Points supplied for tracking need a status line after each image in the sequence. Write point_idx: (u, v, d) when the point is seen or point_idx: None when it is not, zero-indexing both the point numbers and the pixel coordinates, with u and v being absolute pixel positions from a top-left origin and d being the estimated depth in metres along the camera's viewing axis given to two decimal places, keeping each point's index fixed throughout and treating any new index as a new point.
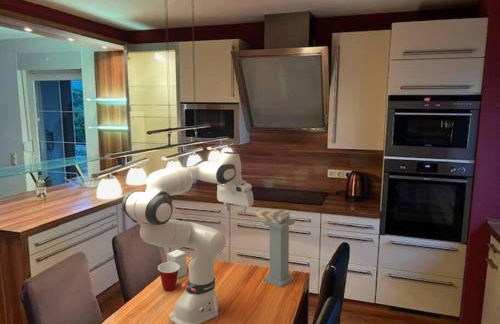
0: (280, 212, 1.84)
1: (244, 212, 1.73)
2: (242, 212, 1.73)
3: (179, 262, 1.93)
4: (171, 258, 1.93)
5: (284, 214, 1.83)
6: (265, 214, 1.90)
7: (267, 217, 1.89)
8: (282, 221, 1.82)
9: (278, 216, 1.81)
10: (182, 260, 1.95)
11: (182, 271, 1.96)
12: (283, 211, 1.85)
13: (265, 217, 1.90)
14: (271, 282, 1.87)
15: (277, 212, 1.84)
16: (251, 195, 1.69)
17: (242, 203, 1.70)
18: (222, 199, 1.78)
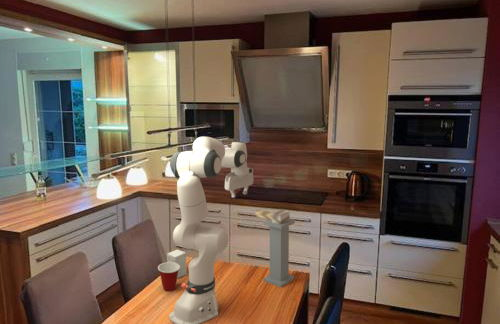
0: (280, 212, 1.84)
1: None
2: (246, 192, 2.05)
3: (179, 262, 1.93)
4: (171, 258, 1.93)
5: (284, 214, 1.83)
6: (265, 214, 1.90)
7: (267, 217, 1.89)
8: (282, 221, 1.82)
9: (278, 216, 1.81)
10: (182, 260, 1.95)
11: (182, 271, 1.96)
12: (283, 211, 1.85)
13: (265, 217, 1.90)
14: (271, 282, 1.87)
15: (277, 212, 1.84)
16: None
17: (248, 183, 2.04)
18: (233, 187, 1.95)
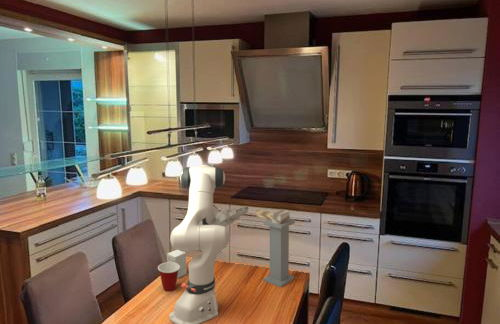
0: (280, 212, 1.84)
1: None
2: (246, 206, 2.06)
3: (179, 262, 1.93)
4: (171, 258, 1.93)
5: (284, 214, 1.83)
6: (265, 214, 1.90)
7: (267, 217, 1.89)
8: (282, 221, 1.82)
9: (278, 216, 1.81)
10: (182, 260, 1.95)
11: (182, 271, 1.96)
12: (283, 211, 1.85)
13: (265, 217, 1.90)
14: (271, 282, 1.87)
15: (277, 212, 1.84)
16: None
17: (241, 207, 2.11)
18: (226, 212, 2.01)
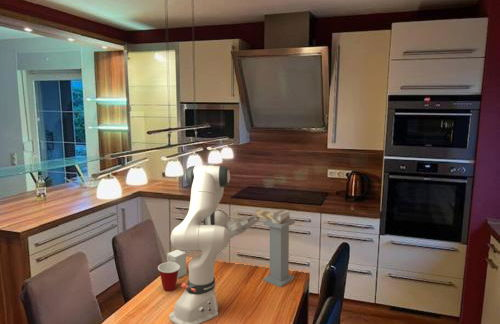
0: (280, 212, 1.84)
1: None
2: None
3: (179, 262, 1.93)
4: (171, 258, 1.93)
5: (284, 214, 1.83)
6: (265, 214, 1.90)
7: (267, 217, 1.89)
8: (282, 221, 1.82)
9: (278, 216, 1.81)
10: (182, 260, 1.95)
11: (182, 271, 1.96)
12: (283, 211, 1.85)
13: (265, 217, 1.90)
14: (271, 282, 1.87)
15: (277, 212, 1.84)
16: None
17: (252, 216, 2.06)
18: (237, 221, 1.96)
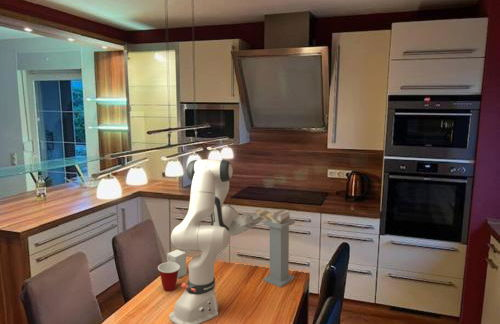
0: (280, 212, 1.84)
1: None
2: None
3: (179, 262, 1.93)
4: (171, 258, 1.93)
5: (284, 214, 1.83)
6: (265, 214, 1.90)
7: (267, 217, 1.89)
8: (282, 221, 1.82)
9: (278, 216, 1.81)
10: (182, 260, 1.95)
11: (182, 271, 1.96)
12: (283, 211, 1.86)
13: (265, 217, 1.90)
14: (271, 282, 1.87)
15: (277, 212, 1.84)
16: None
17: None
18: (246, 216, 1.92)
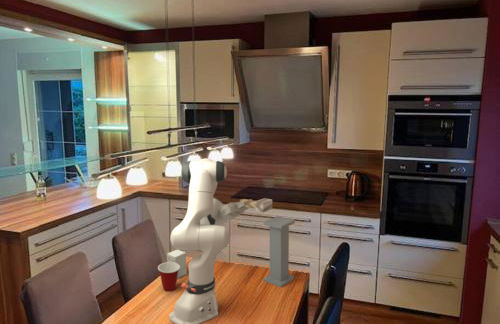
0: (263, 200, 1.90)
1: None
2: None
3: (179, 262, 1.93)
4: (171, 258, 1.93)
5: (267, 202, 1.89)
6: (249, 203, 1.96)
7: (251, 206, 1.95)
8: (265, 209, 1.89)
9: (260, 204, 1.88)
10: (182, 260, 1.95)
11: (182, 271, 1.96)
12: (266, 200, 1.92)
13: (249, 206, 1.96)
14: (271, 282, 1.87)
15: (260, 200, 1.90)
16: None
17: None
18: (231, 205, 1.98)
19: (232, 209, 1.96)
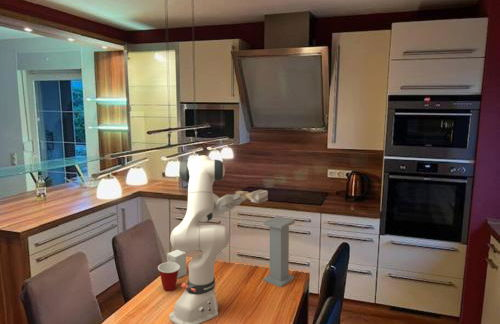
0: (258, 192, 1.91)
1: None
2: None
3: (179, 262, 1.93)
4: (171, 258, 1.93)
5: (262, 193, 1.91)
6: (244, 194, 1.97)
7: (246, 197, 1.97)
8: (260, 200, 1.90)
9: (256, 195, 1.89)
10: (182, 260, 1.95)
11: (182, 271, 1.96)
12: (261, 191, 1.93)
13: (244, 197, 1.98)
14: (271, 282, 1.87)
15: (255, 192, 1.91)
16: None
17: None
18: (227, 197, 1.99)
19: (228, 200, 1.97)
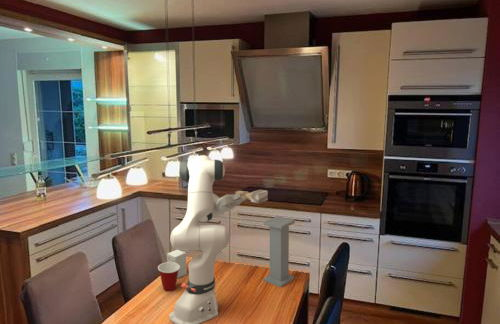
0: (258, 192, 1.91)
1: None
2: None
3: (179, 262, 1.93)
4: (171, 258, 1.93)
5: (262, 193, 1.91)
6: (244, 194, 1.97)
7: (246, 197, 1.97)
8: (260, 200, 1.90)
9: (256, 195, 1.89)
10: (182, 260, 1.95)
11: (182, 271, 1.96)
12: (261, 191, 1.93)
13: (244, 197, 1.97)
14: (271, 282, 1.87)
15: (255, 192, 1.91)
16: None
17: None
18: (227, 197, 1.99)
19: (228, 200, 1.97)
